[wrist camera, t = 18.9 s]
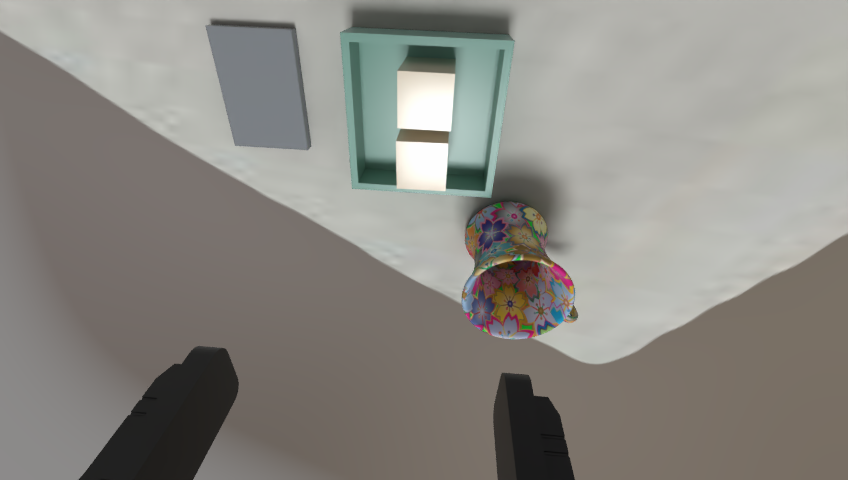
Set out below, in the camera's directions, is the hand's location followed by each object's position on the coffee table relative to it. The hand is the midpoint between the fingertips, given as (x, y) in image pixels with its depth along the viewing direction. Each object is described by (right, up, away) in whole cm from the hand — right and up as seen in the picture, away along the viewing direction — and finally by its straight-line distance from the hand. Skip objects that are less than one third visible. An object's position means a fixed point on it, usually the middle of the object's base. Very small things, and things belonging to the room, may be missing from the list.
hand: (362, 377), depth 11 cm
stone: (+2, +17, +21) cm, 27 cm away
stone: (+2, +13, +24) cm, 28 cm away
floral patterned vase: (+12, +4, +30) cm, 33 cm away
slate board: (-12, +17, +23) cm, 32 cm away
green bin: (+2, +16, +23) cm, 28 cm away
